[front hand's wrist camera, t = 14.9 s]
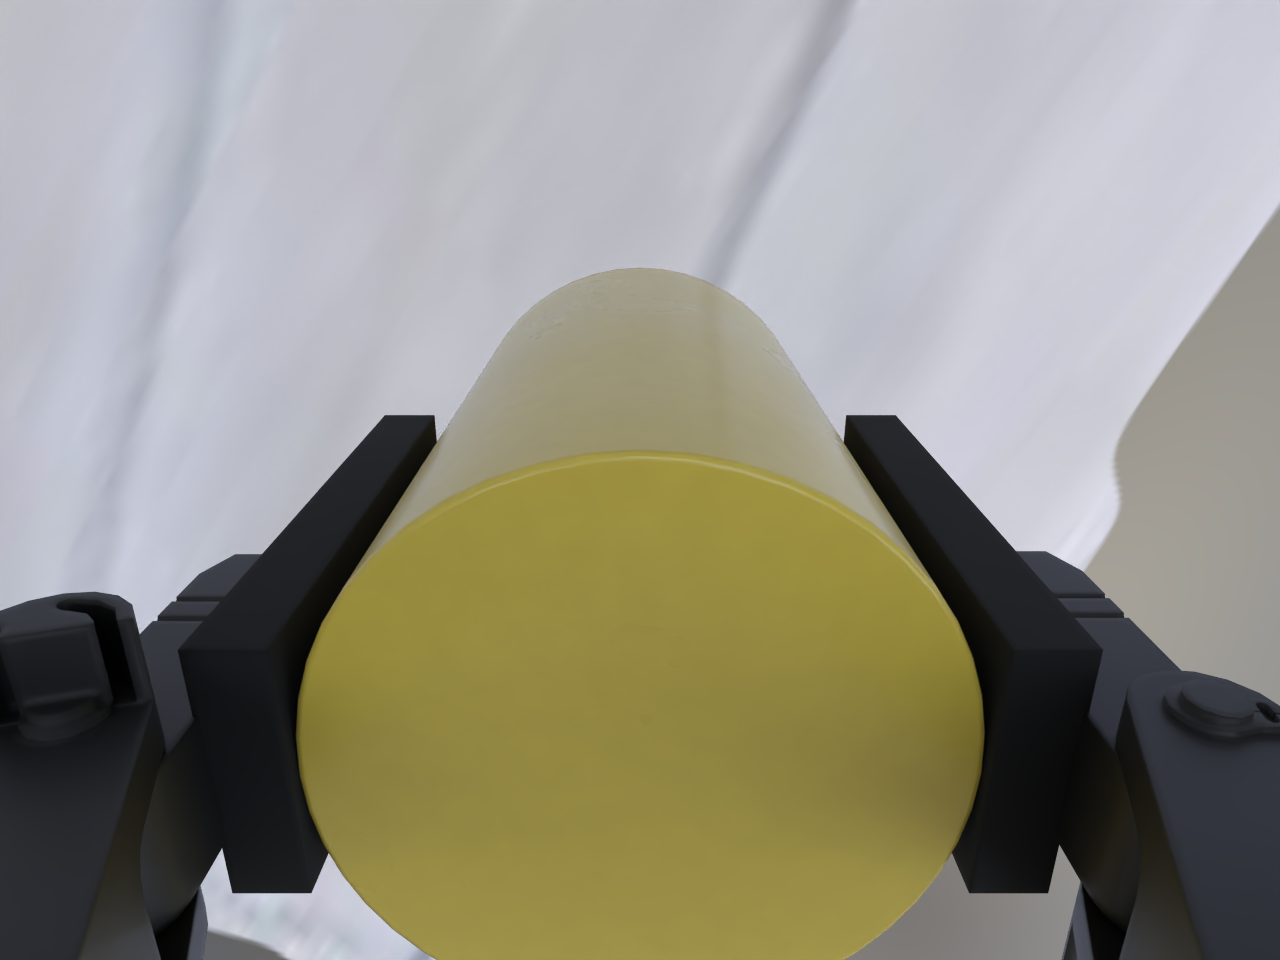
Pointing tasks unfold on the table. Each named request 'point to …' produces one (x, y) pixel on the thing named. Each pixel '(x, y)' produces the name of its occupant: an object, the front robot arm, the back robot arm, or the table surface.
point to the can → (640, 660)
